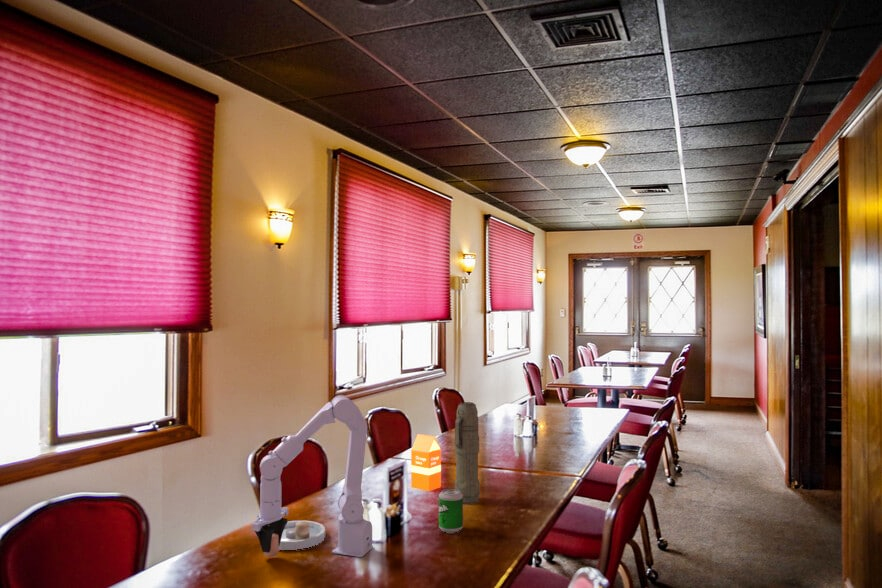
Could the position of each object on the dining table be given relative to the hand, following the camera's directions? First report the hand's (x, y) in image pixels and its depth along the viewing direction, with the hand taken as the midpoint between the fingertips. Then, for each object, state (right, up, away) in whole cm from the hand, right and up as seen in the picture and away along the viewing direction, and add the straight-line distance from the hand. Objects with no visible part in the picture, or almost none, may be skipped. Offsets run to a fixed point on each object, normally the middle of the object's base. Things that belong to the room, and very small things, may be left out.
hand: (271, 548), depth 176 cm
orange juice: (+41, -4, +69) cm, 81 cm away
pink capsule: (0, -2, 0) cm, 2 cm away
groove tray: (+3, -3, +15) cm, 15 cm away
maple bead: (+6, -2, +11) cm, 13 cm away
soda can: (+50, -3, +22) cm, 55 cm away
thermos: (+57, -4, +52) cm, 77 cm away
